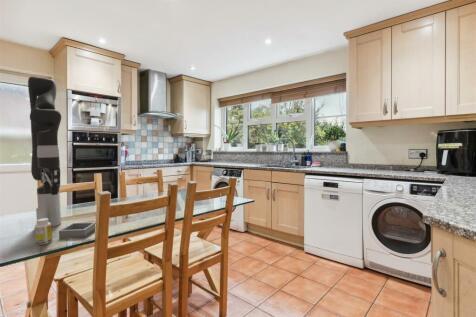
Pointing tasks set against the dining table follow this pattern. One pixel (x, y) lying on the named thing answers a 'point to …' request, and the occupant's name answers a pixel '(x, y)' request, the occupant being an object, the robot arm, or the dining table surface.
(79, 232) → the grey tub
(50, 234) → the supplement bottle
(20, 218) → the dining table surface
